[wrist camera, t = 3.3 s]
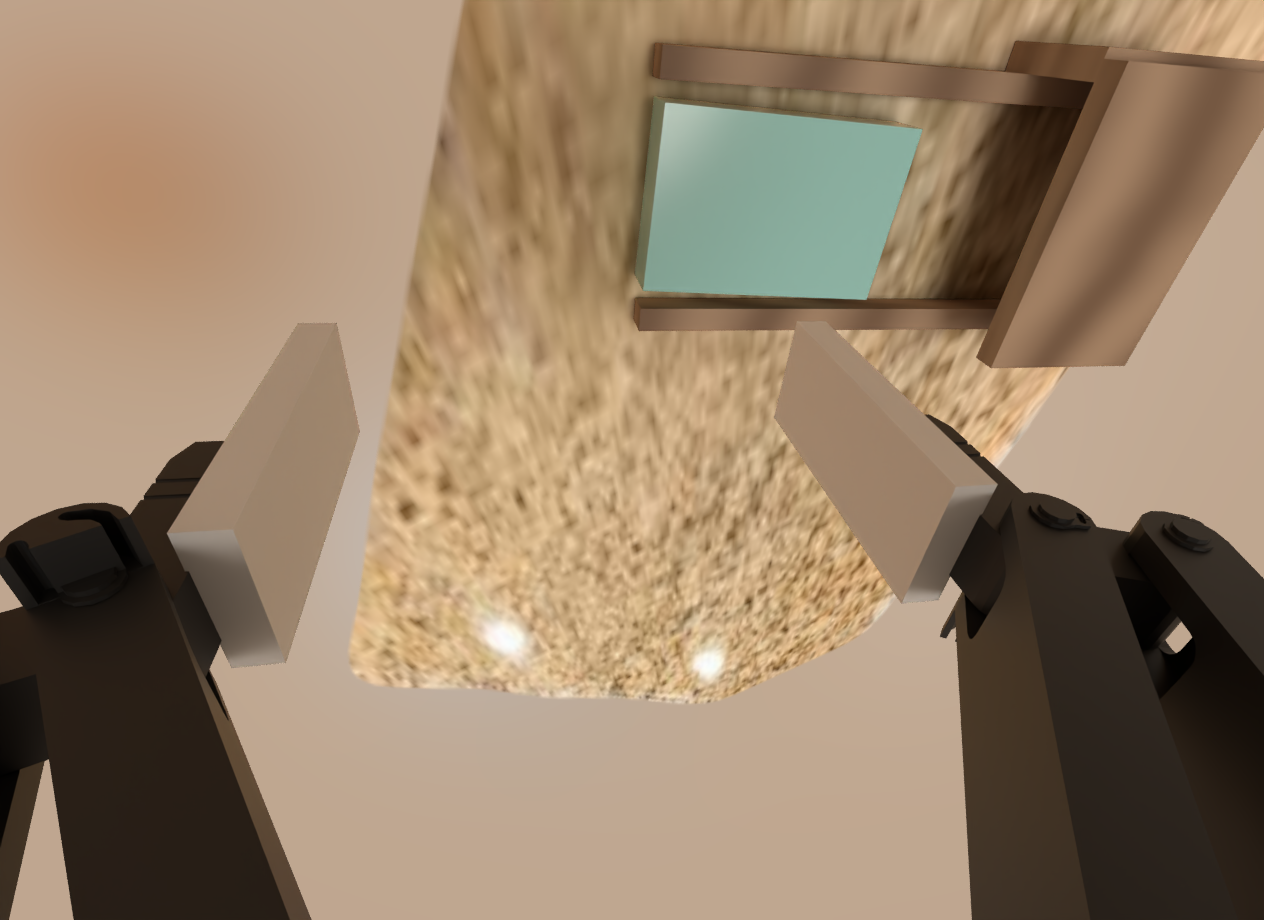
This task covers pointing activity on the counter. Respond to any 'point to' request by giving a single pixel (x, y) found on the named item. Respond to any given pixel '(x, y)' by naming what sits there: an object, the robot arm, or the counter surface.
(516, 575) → the counter surface
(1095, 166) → the overhang
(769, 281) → the tile
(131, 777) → the robot arm
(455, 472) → the counter surface
